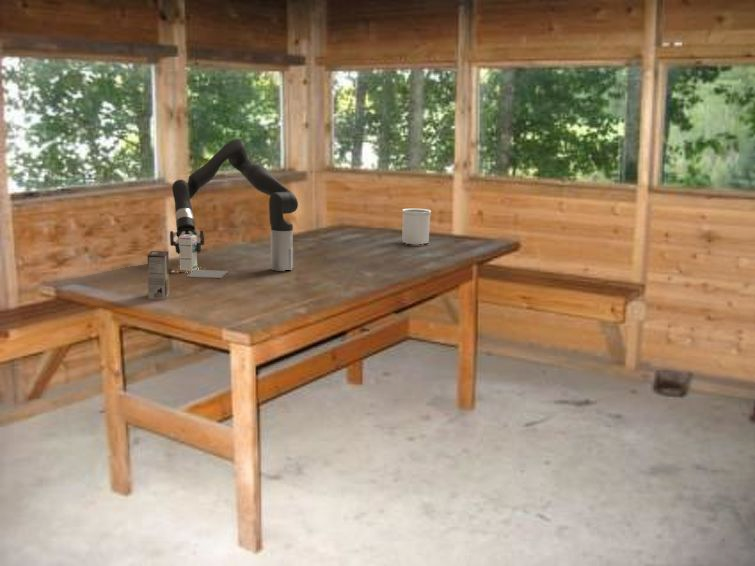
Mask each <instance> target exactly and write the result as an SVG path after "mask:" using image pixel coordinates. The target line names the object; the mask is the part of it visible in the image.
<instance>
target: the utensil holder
mask: <svg viewBox="0 0 755 566" xmlns="http://www.w3.org/2000/svg"><path fill="white" fill-rule="evenodd" d="M431 213H432V210H430V209H425V208H413V207H412V208H411V207H410V208H403V209H402V225H401V226H402V227H401V228H402V230H401V231H402V232H401V233H402V234H401V237H402V239H401V240H402V241H403V242H406V243H412V244H423V243H428V244H429V240H430V226H431Z"/></svg>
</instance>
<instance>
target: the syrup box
mask: <svg viewBox="0 0 755 566" xmlns="http://www.w3.org/2000/svg"><path fill="white" fill-rule="evenodd" d="M197 239H198V235H183V236H180V237H179V249H180V253H179V254H178V255H179V267H180V270H184V271H193V270H195V269H197V268H198V253H197Z"/></svg>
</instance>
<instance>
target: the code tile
mask: <svg viewBox="0 0 755 566" xmlns="http://www.w3.org/2000/svg"><path fill="white" fill-rule="evenodd" d="M199 267H200V266H199ZM199 267H198V270H199ZM195 270H197V269H195ZM193 271H194V270H193ZM186 272H187V271H186ZM186 272H185V273H184V274H189V273H188V272H187V273H186ZM191 272H192V271H191ZM170 273H179V272H178V271H177V272H175V271H174V269H172V270H171V271H170Z"/></svg>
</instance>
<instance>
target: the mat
mask: <svg viewBox="0 0 755 566" xmlns="http://www.w3.org/2000/svg"><path fill="white" fill-rule="evenodd" d="M228 272H229V271H228V270H214V269H213V270H211V269H210V270H209V269H204V270H194V271H193V272H191V273H188V274H187V275H186V278H191V279H192V278H195V279H196V278H199V279H217V278H220V280H221V279H222V278H223V277H225V275H226V273H227V274H228Z"/></svg>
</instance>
